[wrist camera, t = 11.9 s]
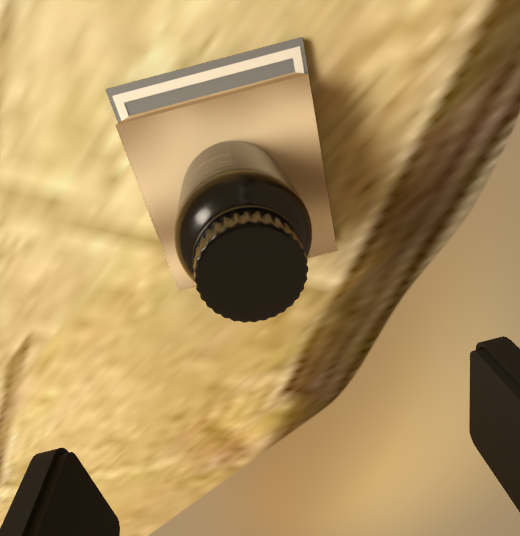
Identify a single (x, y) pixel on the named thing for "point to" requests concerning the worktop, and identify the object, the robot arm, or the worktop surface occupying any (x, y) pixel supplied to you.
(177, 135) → the oak plinth
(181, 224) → the supplement bottle
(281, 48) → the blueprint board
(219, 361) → the worktop surface
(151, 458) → the worktop surface
